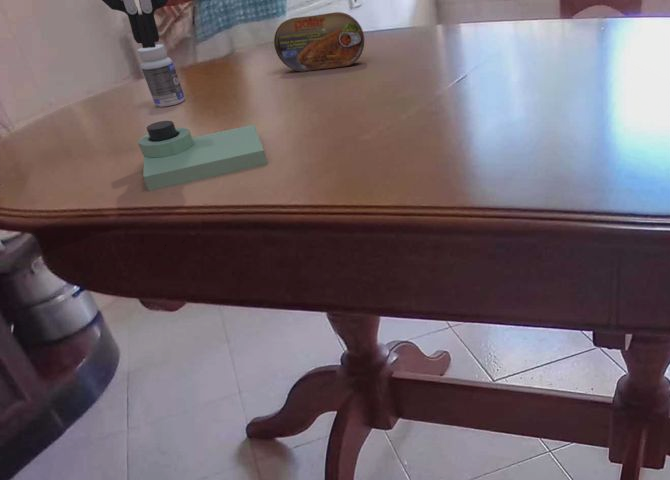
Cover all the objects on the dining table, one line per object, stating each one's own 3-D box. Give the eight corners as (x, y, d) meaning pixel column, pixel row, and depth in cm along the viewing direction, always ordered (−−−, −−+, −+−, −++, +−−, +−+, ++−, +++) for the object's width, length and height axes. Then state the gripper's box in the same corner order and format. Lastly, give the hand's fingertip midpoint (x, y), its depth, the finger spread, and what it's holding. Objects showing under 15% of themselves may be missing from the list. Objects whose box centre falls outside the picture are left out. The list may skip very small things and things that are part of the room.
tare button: (151, 145, 86) (146, 131, 85) (151, 137, 88) (146, 124, 87) (178, 139, 87) (173, 125, 86) (177, 132, 89) (172, 118, 88)
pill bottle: (188, 102, 112) (168, 46, 107) (157, 109, 110) (136, 53, 105) (182, 95, 115) (163, 41, 110) (153, 102, 113) (132, 47, 108)
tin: (281, 74, 120) (267, 21, 115) (284, 69, 122) (271, 17, 117) (368, 64, 119) (357, 11, 114) (370, 59, 122) (360, 7, 117)
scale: (148, 192, 82) (136, 163, 80) (149, 160, 91) (138, 134, 89) (268, 164, 85) (260, 136, 83) (257, 137, 94) (250, 111, 92)
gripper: (165, -118, 84) (200, 40, 92) (40, -118, 79) (89, 49, 87) (171, -124, 78) (208, 45, 86) (36, -124, 73) (90, 55, 81)
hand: (148, 47), depth 87 cm, fingers closed
